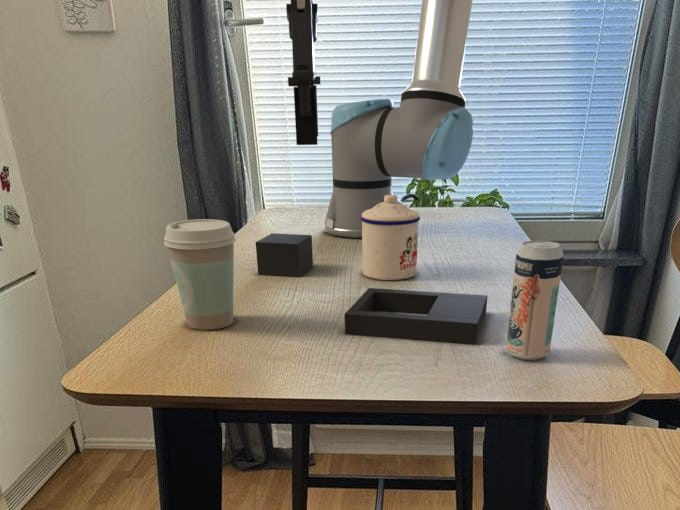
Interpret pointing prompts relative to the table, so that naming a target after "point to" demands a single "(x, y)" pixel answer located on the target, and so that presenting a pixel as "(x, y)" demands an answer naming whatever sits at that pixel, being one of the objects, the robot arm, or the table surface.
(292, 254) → the matte black cube
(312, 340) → the table surface
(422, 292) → the black rectangular tray
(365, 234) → the teacup with lid
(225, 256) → the coffee cup
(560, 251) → the beer can
